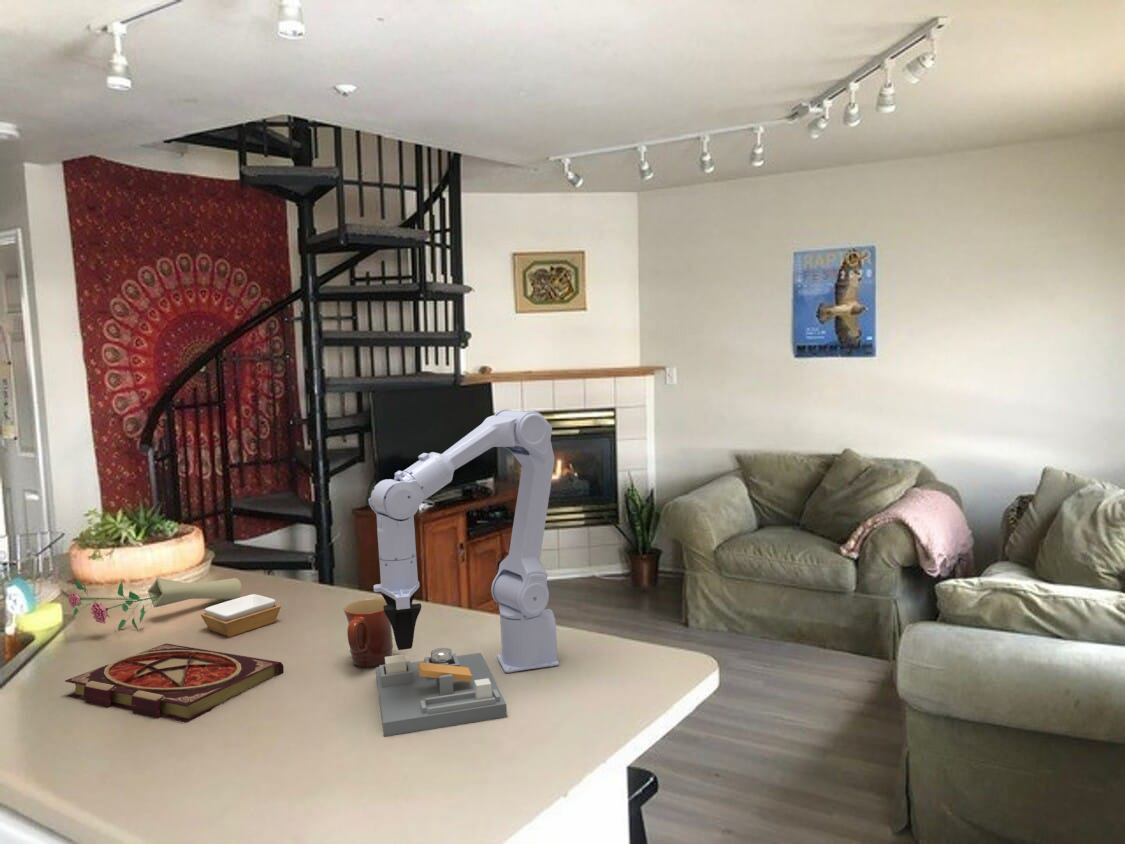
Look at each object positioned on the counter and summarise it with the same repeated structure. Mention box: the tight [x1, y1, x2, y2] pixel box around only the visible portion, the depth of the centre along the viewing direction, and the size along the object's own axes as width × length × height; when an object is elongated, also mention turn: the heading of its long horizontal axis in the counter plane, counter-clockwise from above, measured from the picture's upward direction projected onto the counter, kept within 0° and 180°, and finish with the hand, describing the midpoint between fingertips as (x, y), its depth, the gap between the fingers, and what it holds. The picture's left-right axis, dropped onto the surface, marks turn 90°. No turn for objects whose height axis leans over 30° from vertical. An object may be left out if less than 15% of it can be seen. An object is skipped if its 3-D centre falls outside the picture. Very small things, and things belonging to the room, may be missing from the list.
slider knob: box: [474, 678, 492, 700], centre depth 126 cm, size 2×2×3 cm
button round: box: [430, 647, 453, 665], centre depth 138 cm, size 3×3×2 cm
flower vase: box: [68, 577, 242, 631], centre depth 177 cm, size 12×12×35 cm
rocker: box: [418, 662, 472, 682], centre depth 131 cm, size 8×4×1 cm, turn 105°
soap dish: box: [200, 593, 282, 638], centre depth 171 cm, size 12×10×5 cm
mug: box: [343, 597, 394, 668], centre depth 147 cm, size 12×9×10 cm
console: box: [375, 652, 508, 737], centre depth 133 cm, size 18×22×5 cm
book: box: [64, 642, 285, 723], centre depth 142 cm, size 28×21×5 cm
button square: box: [384, 654, 407, 674], centre depth 135 cm, size 3×3×2 cm
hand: (403, 640), depth 132 cm, fingers open, 7 cm apart
